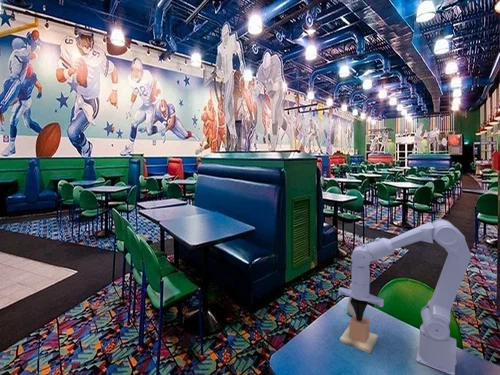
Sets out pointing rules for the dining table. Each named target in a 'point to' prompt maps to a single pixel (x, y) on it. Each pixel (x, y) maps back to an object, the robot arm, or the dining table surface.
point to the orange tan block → (359, 329)
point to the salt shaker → (350, 306)
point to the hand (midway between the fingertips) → (359, 319)
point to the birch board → (359, 345)
